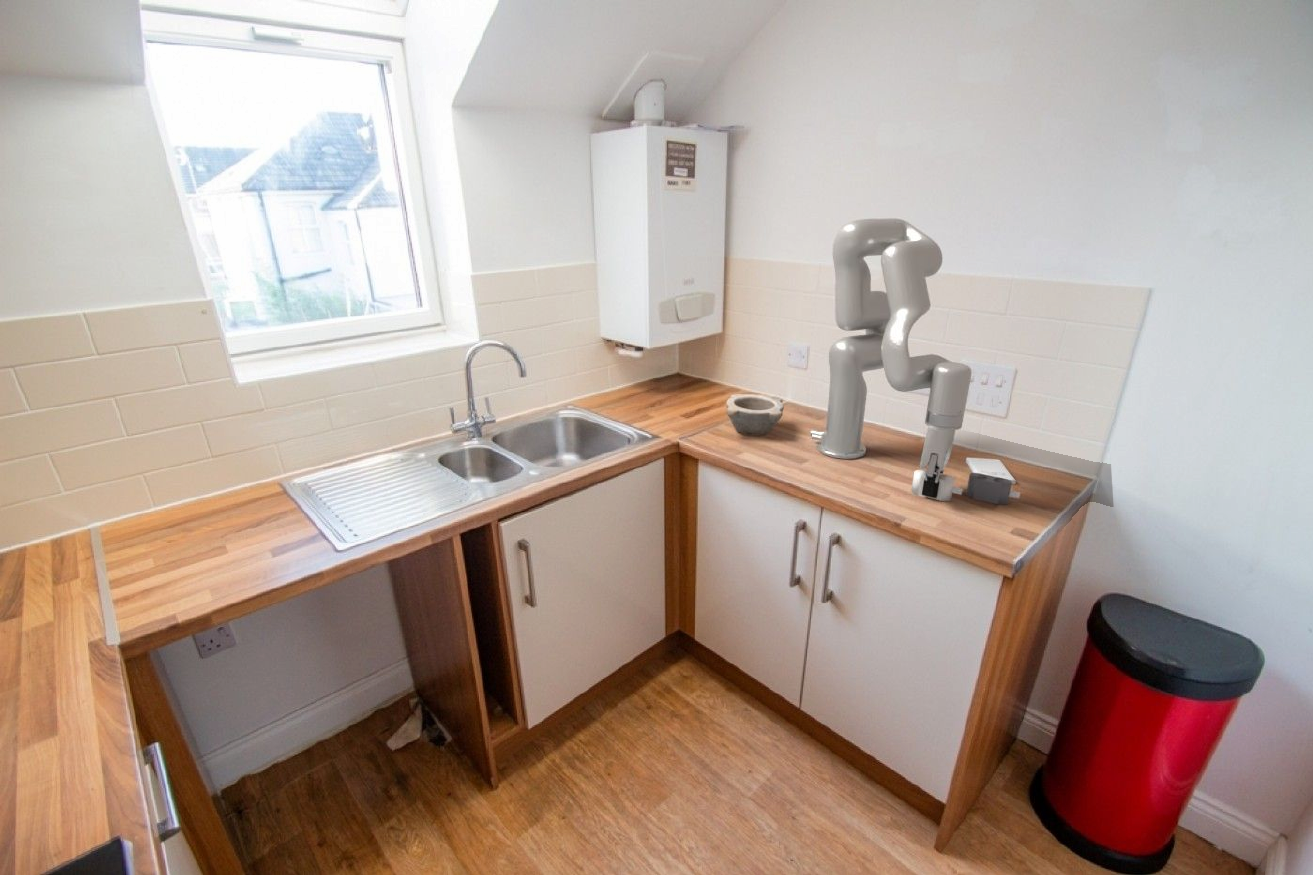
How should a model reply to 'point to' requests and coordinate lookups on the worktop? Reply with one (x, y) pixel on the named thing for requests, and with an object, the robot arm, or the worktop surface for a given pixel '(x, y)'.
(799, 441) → the worktop surface
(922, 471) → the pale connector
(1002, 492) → the charcoal connector
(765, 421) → the mortar
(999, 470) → the external hard drive
